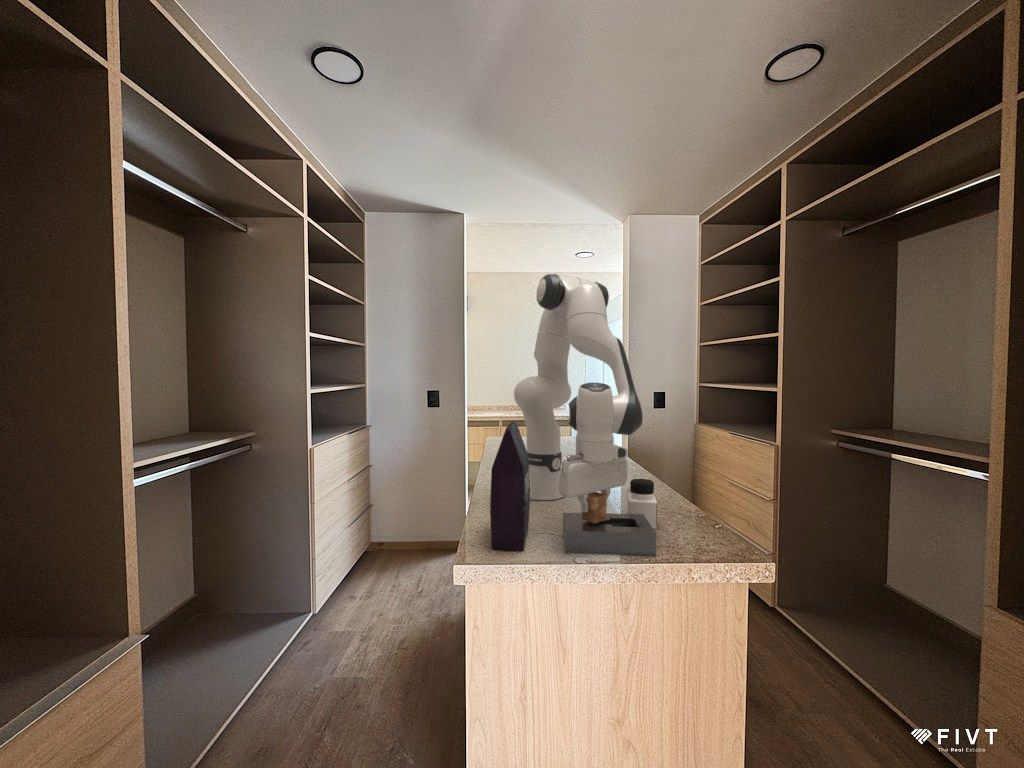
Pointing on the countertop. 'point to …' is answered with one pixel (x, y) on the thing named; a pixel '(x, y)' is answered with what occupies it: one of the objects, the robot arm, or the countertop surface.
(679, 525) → the countertop surface
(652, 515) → the medicine bottle
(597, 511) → the slider
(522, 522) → the decorative box
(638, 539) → the keyhole plate
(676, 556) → the countertop surface
